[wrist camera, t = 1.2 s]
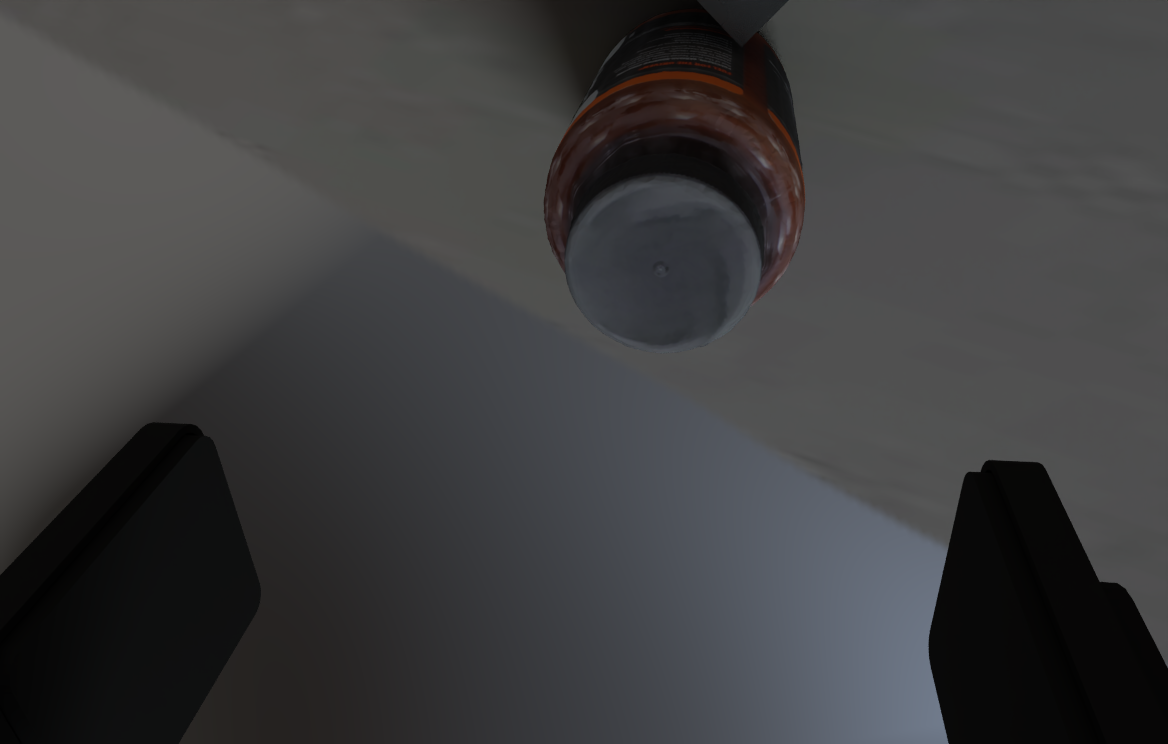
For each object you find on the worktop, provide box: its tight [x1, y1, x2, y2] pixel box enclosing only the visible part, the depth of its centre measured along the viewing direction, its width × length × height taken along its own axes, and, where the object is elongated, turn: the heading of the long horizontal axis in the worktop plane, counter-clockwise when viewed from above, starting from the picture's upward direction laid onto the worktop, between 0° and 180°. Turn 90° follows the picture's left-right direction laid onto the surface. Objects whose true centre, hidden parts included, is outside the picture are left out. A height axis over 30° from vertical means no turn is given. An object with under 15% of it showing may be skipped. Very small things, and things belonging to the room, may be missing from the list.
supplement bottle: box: [544, 9, 805, 353], centre depth 23 cm, size 6×6×11 cm
